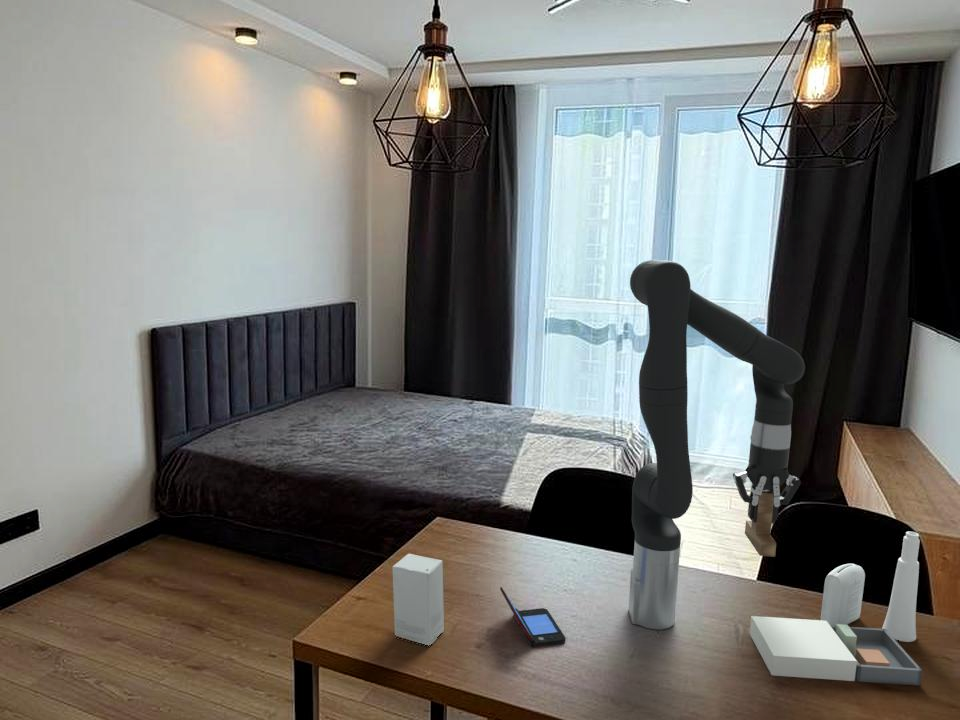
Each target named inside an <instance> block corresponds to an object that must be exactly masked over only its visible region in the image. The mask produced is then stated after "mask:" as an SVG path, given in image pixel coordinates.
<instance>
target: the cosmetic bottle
mask: <svg viewBox="0 0 960 720" xmlns="http://www.w3.org/2000/svg"><path fill="white" fill-rule="evenodd" d="M919 537H920V535H919V533H917V532H915V531H906V532H905V535H904V536H903V539H902V541H903V542H902V547H901V548H902V549H901V553H900V554H901V555H900V557H899V558H898V559H897V563H896V568H895V573H894V578H893V584H892V589H891V595H890V600H889V604H888V609H887V612H886V616H885V620H884V621H883V625H882V628H881V629H886V630H887V632H888V633H889V634H890V635H891V636H892V637H893V638H894V639H895V640H896V641H898V640H899V642H904V643H911V642H915V641H917V628H916V627H917V626H916V620H917V619H916V616H917V615H916V614H917V613H916V612H917V598H918V597H917V596H918V586H919V573H920V571H919V570H920V562H919V561H918V557H919V552H920V551H919V549H920V543H921V541H920V539H919Z"/></svg>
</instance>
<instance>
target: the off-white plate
mask: <svg viewBox="0 0 960 720" xmlns="http://www.w3.org/2000/svg"><path fill="white" fill-rule="evenodd" d="M749 625H750V626H749V635H750V638H751V639H752V641H753V643H754V645H755V646H756V649H757V650H758V653H759V654H760V656H761V658H762V660H763V662H764V663H765V664H764V665H766V668H767V669H768V671H769V673H770V675H771V676H775V677H791V678H792V677H793V678H801V679H802V678H804V679H818V680H819V679H820V680H831V681H833V680H835V681H848V682H855V681H856V680H855V673H856V665H857V661H856V659H855V658H854V657H853V655H852V654H851V653H850V651H849V650H848V649H847V647H846V646H845V645H844V643H843V642H842V641H841V639H840V638H839V637H838V635H837V634H836V633H835V632H834V630H833V629H832V628H831V626H830V625H829V624H828V622H827V621H823V620H821V619H820V620H819V619H804V618H788V617H773V616H759V615H758V616H756V615H751V616H750V624H749Z"/></svg>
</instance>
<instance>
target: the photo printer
mask: <svg viewBox="0 0 960 720" xmlns="http://www.w3.org/2000/svg"><path fill="white" fill-rule="evenodd" d="M865 578H866V573H865V570H864V569H863V567H862V566H860V565H858V564H855V563H846V564H845V563H844V564H842V565H839V566H837V567H835V568H834V569H833V570H831V571H830V572H829V573H828V574H827V575H826V577H825V579H824V585H823V595H822V602H821V610H820V611H821V612H820V620H823V621H827V622H828V624H829V625H830V626H837V624H844V625H849V624H851V623H853V622H855V621H857V620H858V619H859V618H860V616H861V611H862V603H863V594H864V587H865V580H866V579H865Z"/></svg>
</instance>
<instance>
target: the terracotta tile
mask: <svg viewBox="0 0 960 720" xmlns="http://www.w3.org/2000/svg"><path fill="white" fill-rule="evenodd" d="M855 659H856V660H857V661H858V663H859V664H860V665H874V666H888V667H890V663H889V661H888V660H887V659H886V658H885V657H884V655H883V654H882V653H881V652H880V651H879V650H871V649H856V653H855Z"/></svg>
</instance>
